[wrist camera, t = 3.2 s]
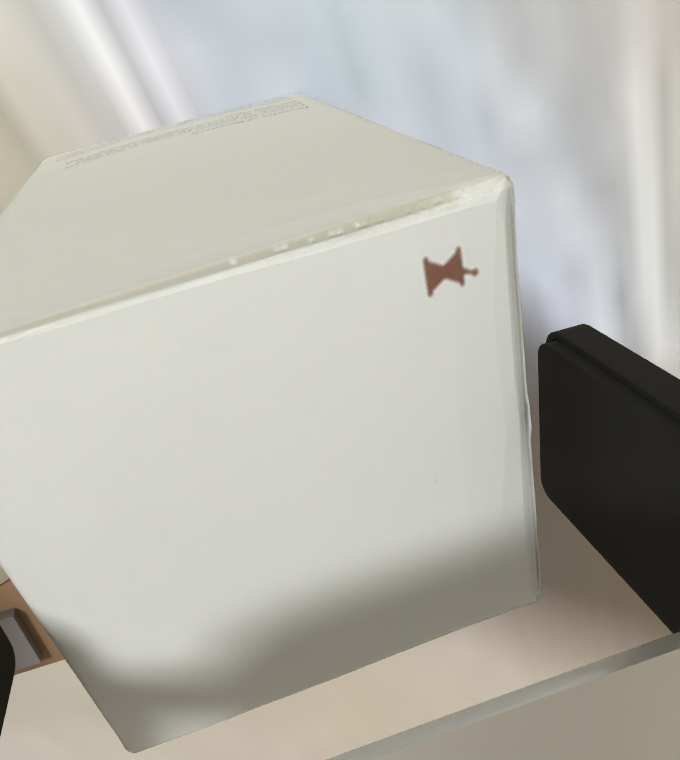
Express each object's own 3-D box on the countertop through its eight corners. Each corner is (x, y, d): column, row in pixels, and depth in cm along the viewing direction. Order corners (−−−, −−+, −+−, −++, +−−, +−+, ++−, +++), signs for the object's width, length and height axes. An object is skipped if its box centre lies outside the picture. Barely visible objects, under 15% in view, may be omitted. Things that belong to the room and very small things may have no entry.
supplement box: (34, 154, 17) (-167, 356, 6) (304, 87, 18) (541, 160, 7) (134, 389, 21) (118, 773, 10) (354, 324, 22) (559, 609, 11)
